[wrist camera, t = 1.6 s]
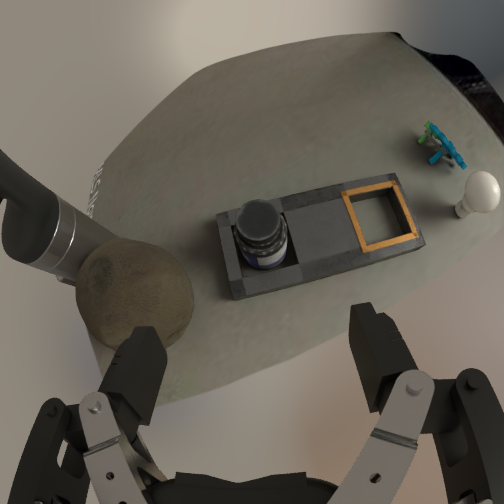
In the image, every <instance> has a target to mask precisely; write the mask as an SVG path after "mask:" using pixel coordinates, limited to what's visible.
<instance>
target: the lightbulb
mask: <svg viewBox="0 0 504 504" xmlns="http://www.w3.org/2000/svg"><path fill="white" fill-rule="evenodd" d="M499 200H500V187H499V184H498V182H497V180H496V179H495V178H494V177H493V176H492V175H491V174H490V173H488V172H485V171H476V172H474V173H472V174H471V175H470V176H469V177H468V179H467V181H466V184H465V194H464V196H463V198H462V200H461V201H460V202H459V203H458V204H456V206H455V211H456V213H457V215H458V216H459V217H461V218H465V217H466V216H467V215H469V214H470V213H474V212H479V213H488V212H491V211H493V210H494V209H495V208H496V207H497V205H498V203H499Z"/></svg>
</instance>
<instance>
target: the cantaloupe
mask: <svg viewBox="0 0 504 504" xmlns="http://www.w3.org/2000/svg"><path fill="white" fill-rule="evenodd" d="M76 302H77V306H78V309H79V312H80V314H81V316H82V318H83V320H84V322H85V324H86V326H87V328H88V329H89V331H90V332H91V333H92V334H93V335H94V336H95V338H96V339H97V340H99V341H100V342H101V343H102V344H104V345H105V346H107V347H109V348H111V349H113V350H115V351H117V349H118V347H119V346H120V345H121V344H122V342H123V341H124V340H125V339H126V338H130V336H131V333H132V331H133V329H134V328H135V327H137V326H153V327H154V328H155V330H156V332H157V334H158V336H159V338H160V340H161V342H162V344H163V346H164V348H165V349H166V348H168V347H169V346H171V345H172V344H173V343H175V342H176V341H177V340H178V339H179V338H180V337H181V335H182V334H183V332H184V331H185V329H186V327H187V326H188V324H189V322H190V319H191V316H192V312H193V309H194V295H193V290H192V286H191V283H190V281H189V278H188V277H187V275H186V273H185V271H184V269H183V268H182V267H181V265H180V264H179V263H178V262H177V261H176V260H175V259H174V258H173V257H172V256H171V255H170V254H169V253H167V252H166V251H165V250H163V249H162V248H160V247H157V246H154V245H151V244H147V243H144V242H140V241H135V240H129V239H124V238H119V239H113V240H110V241H108V242H106V243H104V244H102V245H101V246H99V247H98V248H96V249H95V250H94V251H93V252H92V253H91V254H90V255H89V256H88V257H87V259H86V260H85V261H84V263H83V265H82V266H81V268H80V270H79V273H78V275H77V279H76Z"/></svg>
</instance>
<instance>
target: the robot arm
mask: <svg viewBox="0 0 504 504" xmlns="http://www.w3.org/2000/svg"><path fill="white" fill-rule="evenodd" d="M4 198H5V199H7V203H6V209H5V214H4V218H3V223H2V244H3V247H4V250H5V252H6V253H7V255H8V256H9V257H11V258H12V259H14V260H16V261H19V262H21V263H24V264H27V265H30V266H32V267H35V268H38V269H41V270H44V271H46V272H49V273H52V274H55V275H56V277H57V280H58V281H59V282H62V283H65V284H68V285H72V286H75V287H76V279H77V275H78V273H79V270H80V268H81V266H82V265H83V263H84V261H85V260H86V259H87V257H88V256H89V255H90V254H91V253H92V252H93V251H94V250H95V249H96V248H98V247H99V246H101V245H102V244H104V243H106V242H108V241H110V240H113V239H119V238H120V237H118V236H117V235H116V234H113V233H112V232H110V231H109V230H108V229H106V228H104V227H103V226H101V225H100V224H98V223H97V222H95V221H94V220H92V219H91V218H90V217H88V216H87V215H85V214H84V213H82V212H81V211H79V210H78V209H76V208H75V207H73V206H72V205H70V204H69V203H68V202H66V201H65V200H63V199H62V198H60V197H59V196H58V195H56V194H55V193H54V192H52V191H51V190H49V189H48V188H46V187H45V186H44V185H42V184H41V183H40V182H38V181H37V180H36V179H34V178H33V177H32V176H30V175H29V174H28V173H26V172H25V171H24V170H23V169H21V168H20V167H19V166H18V165H17V164H16V163H15V162H13V161H12V160H11V159H10V158H9V157H8V156H7V155H6V154H5V153H4V152H3V151H2V150H1V149H0V203H1V202H2V200H3V199H4ZM349 344H350V348H351V351H352V354H353V357H354V360H355V364H356V367H357V370H358V373H359V376H360V379H361V383H362V386H363V390H364V393H365V397H366V400H367V404H368V407H369V411H370V413H372V412H377V411H379V414H380V418H379V420H378V422H377V424H376V426H375V428H374V430H373V431H372V433H371V435H370V436H369V438H368V440H367V442H366V444H365V445H364V447H363V449H362V451H361V452H360V454H359V456H358V458H357V459H356V461H355V463H354V464H353V466H352V468H351V469H350V471H349V472H348V474H347V475H346V477H345V478H344V480H343V482H342V483H341V484H340V486H337V485H335V484H332V483H330V482H328V481H324V480H321V479H316V478H307V477H306V472H299V473H290V474H278V475H270V476H267V477H263V478H259V479H255V480H250V481H246V482H241V483H235V482H230V481H227V480H222V479H219V478H215V477H212V476H208V475H203V474H191V473H181V472H176V476H175V479H170V480H168V479H167V478H166V477H165V475H163V473H162V472H161V471H160V470H159V469H158V467H157V466H156V464H155V462H154V460H153V459H152V457H151V455H150V453H149V451H148V449H147V447H146V445H145V443H144V441H143V439H142V437H141V435H140V433H139V432H138V426H139V425H147V426H149V424H150V420H151V417H152V413H153V410H154V406H155V403H156V399H157V396H158V392H159V389H160V385H161V382H162V379H163V375H164V372H165V369H166V366H167V353H166V350H165V348H164V346H163V344H162V342H161V340H160V338H159V336H158V334H157V332H156V330H155V328H154V327H153V326H137V327H135V328H134V329H133V331H132V333H131V336H130V338H126V339H125V340H124V341H123V342H122V344H121V345H120V346H119V347H118V349H117V351H116V353H115V355H114V357H113V359H112V361H111V365H109V368H108V370H107V372H106V374H105V376H104V378H103V381H102V383H101V385H100V387H99V390H98V391H97V392H92V393H90V394H88V395H87V396H85V397H84V398H83V399H82V401H81V402H80V404H75V405H68V406H66V405H65V404H64V403H63V402H62V401H61V400H60V399H58V398H51V399H49V400H47V401H46V402H45V403H44V404H43V405H42V407H41V409H40V411H39V413H38V416H37V418H36V420H35V423H34V425H33V428H32V430H31V432H30V435H29V437H28V440H27V443H26V445H25V448H24V451H23V453H22V456H21V459H20V462H19V465H18V468H17V472H16V474H15V478H14V481H13V485H12V488H11V492H10V496H9V499H8V503H7V504H85V503H86V498H87V493H88V489H89V484H90V480H91V482H92V485H93V487H94V490H95V493H96V495H97V498H98V500H99V503H100V504H390V503H391V502H392V500H393V498H394V496H395V495H396V493H397V491H398V489H399V487H400V485H401V483H402V481H403V479H404V477H405V475H406V473H407V471H408V469H409V467H410V465H411V462H412V460H413V458H414V455H415V453H416V450H417V446H418V444H417V440H418V437H419V435H420V434H427V433H432V434H433V438H434V442H435V445H436V449H437V453H438V457H439V461H440V465H441V469H442V474H443V478H444V483H445V488H446V493H447V498H448V504H504V412H503V410H502V408H501V405H500V403H499V401H498V399H497V396H496V394H495V392H494V390H493V388H492V386H491V384H490V382H489V380H488V378H487V376H486V375H485V374H484V373H483V372H482V371H480V370H478V369H474V368H469V369H465V370H463V371H462V372H461V373H460V374H459V375H458V377H457V378H456V379H442V380H437V379H432V378H431V377H430V376H429V375H428V374H427V373H425V372H423V371H420V370H419V369H418V368H417V366H416V363H415V361H414V359H413V358H412V355H411V353H410V351H409V349H408V347H407V345H406V343H405V341H404V340H403V339H402V336H401V334H400V332H399V331H398V328H397V326H396V325H395V322H394V321H393V319H391V318H390V317H389V316H387V315H386V314H385V313H384V312H383V313H378V314H376V312H375V310H374V308H373V306H372V304H371V303H370V302H367V303H361V304H356V305H352V306H351V310H350V323H349ZM63 440H65V441H66V442H67V443H68V445H67V449H66V452H65V455H64V458H63V461H62V465H61V468H60V467H59V465H58V463H57V456H58V453H59V450H60V447H61V444H62V441H63Z"/></svg>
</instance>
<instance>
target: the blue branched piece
mask: <svg viewBox="0 0 504 504" xmlns="http://www.w3.org/2000/svg"><path fill="white" fill-rule="evenodd" d="M424 126H425V127H426V128H427V129H428V130H425V131H424V132H425V133H426V134H425V135H424V136H423V137H421V138H420V139H419V140H418V142H419V143H420V144H421V143H422V142H423V141H424V140H425V139H426V138H427V137H429V138H430V139H431V140H432V141H433V143H434V144H435V145H436V146H437V147H438V149H439V151H438V152H437V153H436V154H435V155H434V156H433V157H431V158H430V159H429V161H430V163H431V164H433V163H434V162H436V161H437V160H438V159H439V158H440V157H441V156H442V155H444V156H445V155H446V154H447V153H448V152H449V154H450V155H451V156H452V158H453V159H455V161H456V162H457V164H458V165H459V166H460V167H461V168H462V169H463V170H464V169H465V168H466V167H467V166H466V164H465V163H464V162H463V159H462V157H461V156H460V155H459V154H458V153H457V152H456V151H455V150H456V149H455V147H454V145H453V143H452V142H451V141H448V139H447V137H446V136H445V135H444V134H443V133H442V132H440V130H439V129H438V128H437V126H434V125H433V123H430V122H429V121H428V122H427V123H426V124H425V125H424ZM432 135H433V136H434V137H435V139H437V138H438V140H440V141H441V142H442V146H441V147H440V146H439V145H438V144H437V142H436V141H435V140H434V139H433V138H432Z"/></svg>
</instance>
